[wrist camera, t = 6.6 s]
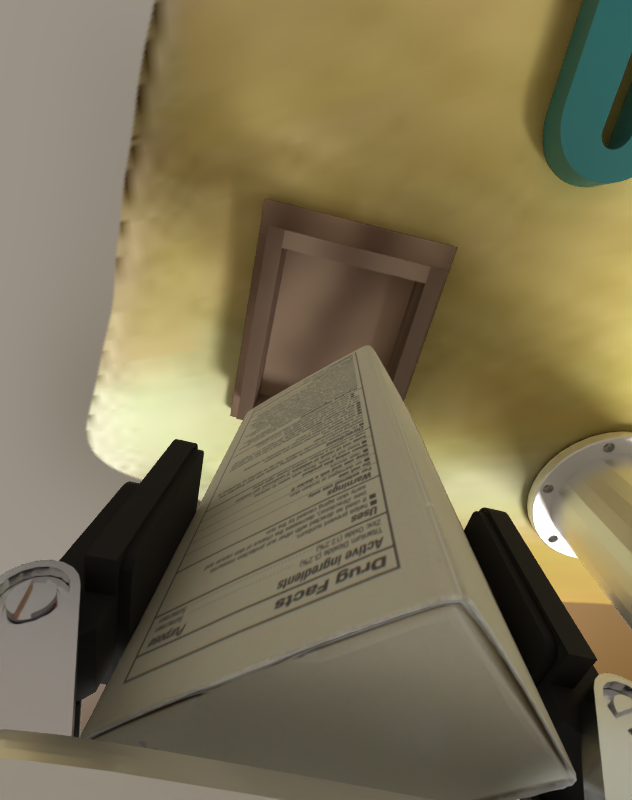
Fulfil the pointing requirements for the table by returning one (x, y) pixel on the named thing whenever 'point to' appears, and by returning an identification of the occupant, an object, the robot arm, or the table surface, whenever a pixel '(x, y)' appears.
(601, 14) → the bracket
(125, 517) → the robot arm
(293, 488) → the skincare box
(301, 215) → the holder
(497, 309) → the table surface
